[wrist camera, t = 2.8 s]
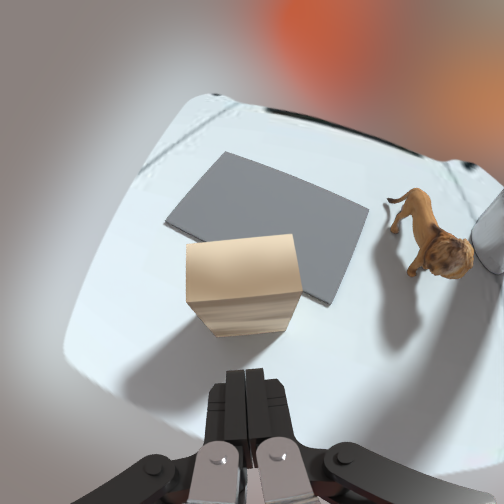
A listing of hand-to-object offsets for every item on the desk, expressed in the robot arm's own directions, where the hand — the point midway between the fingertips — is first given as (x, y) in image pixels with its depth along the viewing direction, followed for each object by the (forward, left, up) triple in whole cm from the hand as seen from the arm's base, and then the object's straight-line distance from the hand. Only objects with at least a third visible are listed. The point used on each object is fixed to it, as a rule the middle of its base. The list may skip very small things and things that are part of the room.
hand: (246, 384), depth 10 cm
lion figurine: (-23, +11, -16) cm, 30 cm away
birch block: (-6, -4, -16) cm, 17 cm away
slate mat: (-18, -8, -15) cm, 25 cm away
